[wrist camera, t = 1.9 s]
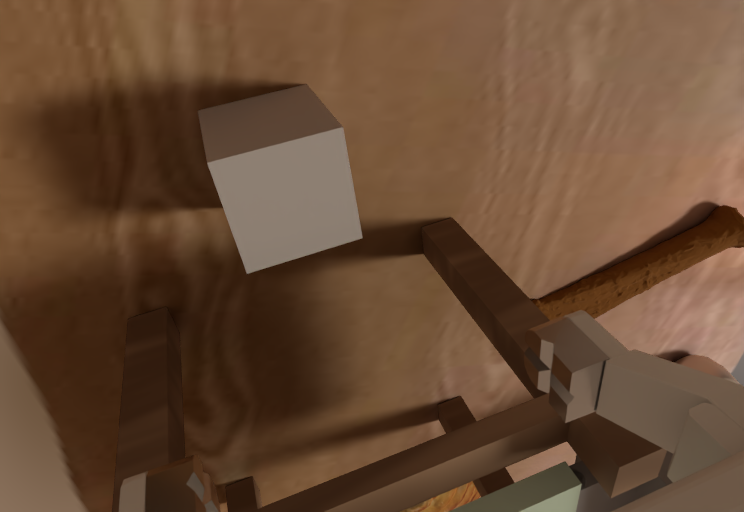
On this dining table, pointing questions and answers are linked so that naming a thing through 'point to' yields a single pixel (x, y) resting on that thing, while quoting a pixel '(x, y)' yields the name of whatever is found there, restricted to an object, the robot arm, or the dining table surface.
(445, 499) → the pastry
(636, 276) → the primitive tool
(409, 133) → the dining table surface
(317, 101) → the light grey block
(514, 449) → the stand
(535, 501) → the trapdoor
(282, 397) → the dining table surface
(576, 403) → the robot arm
